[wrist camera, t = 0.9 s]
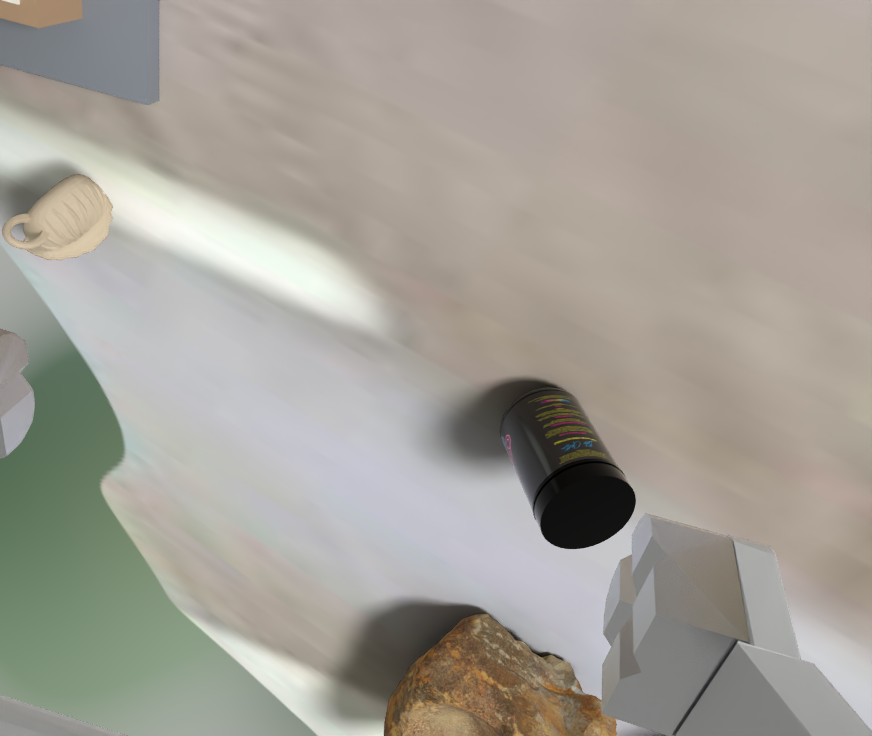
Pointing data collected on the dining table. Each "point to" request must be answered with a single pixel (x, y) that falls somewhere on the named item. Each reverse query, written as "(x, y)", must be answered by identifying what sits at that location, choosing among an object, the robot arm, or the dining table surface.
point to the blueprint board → (85, 43)
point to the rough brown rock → (491, 690)
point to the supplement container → (565, 469)
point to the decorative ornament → (64, 220)
